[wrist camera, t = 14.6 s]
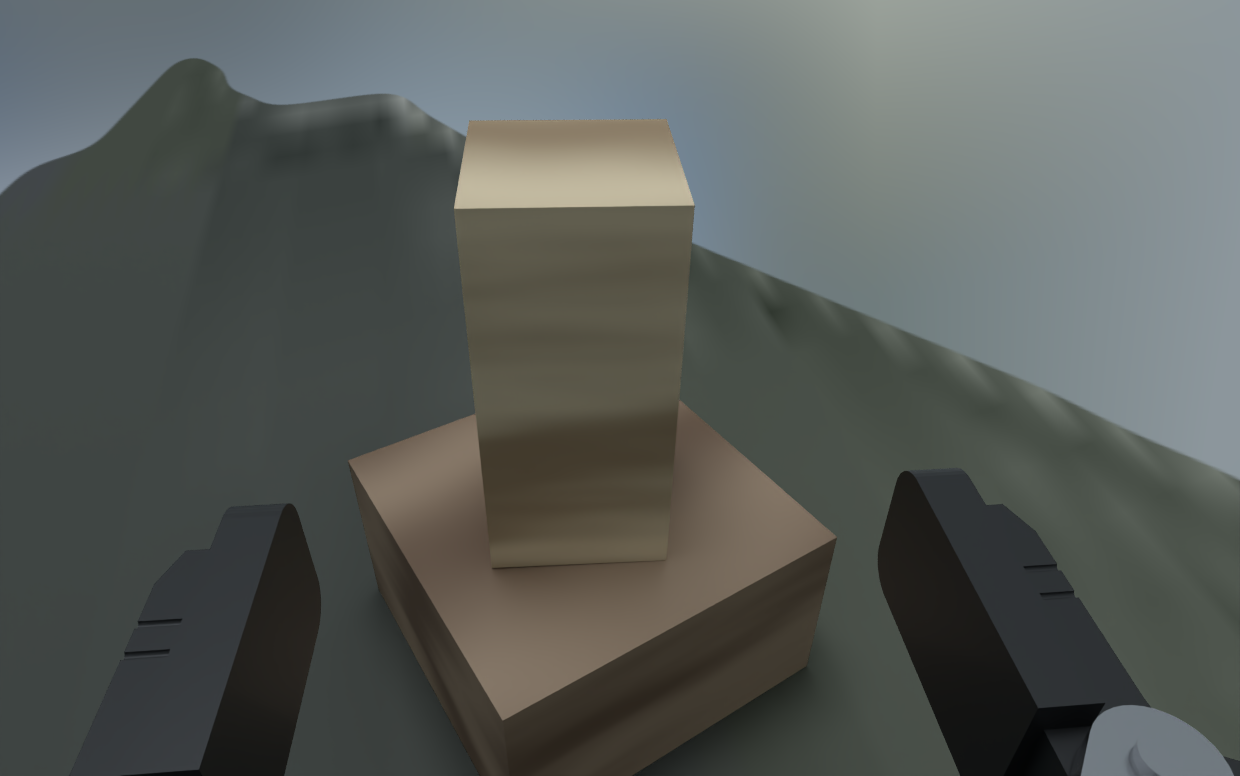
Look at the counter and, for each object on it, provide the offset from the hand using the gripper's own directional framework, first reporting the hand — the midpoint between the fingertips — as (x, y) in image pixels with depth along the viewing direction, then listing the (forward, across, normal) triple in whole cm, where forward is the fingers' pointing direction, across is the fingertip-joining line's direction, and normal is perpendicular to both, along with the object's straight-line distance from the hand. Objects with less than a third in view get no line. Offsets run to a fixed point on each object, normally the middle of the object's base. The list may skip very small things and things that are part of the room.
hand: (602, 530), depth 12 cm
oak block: (+9, 0, +8) cm, 12 cm away
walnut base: (+9, 0, +14) cm, 17 cm away
